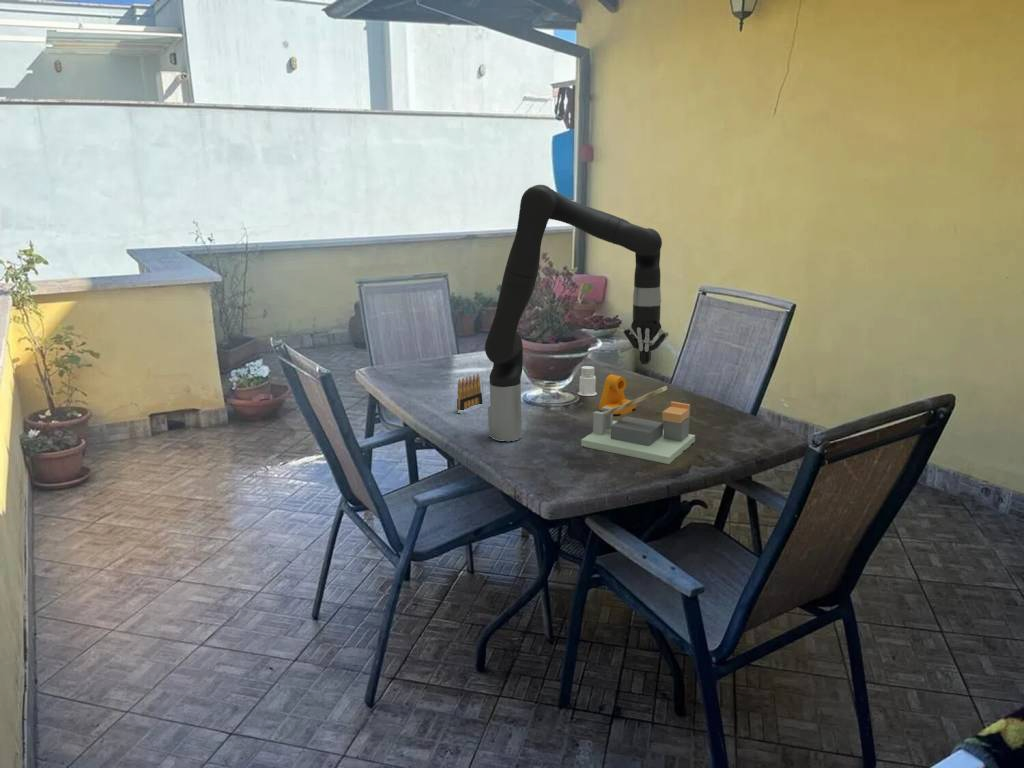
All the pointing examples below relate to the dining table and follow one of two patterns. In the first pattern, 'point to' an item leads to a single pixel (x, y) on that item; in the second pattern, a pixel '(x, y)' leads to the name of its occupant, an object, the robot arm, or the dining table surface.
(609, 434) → the board
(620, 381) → the bracket
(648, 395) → the strap
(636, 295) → the robot arm
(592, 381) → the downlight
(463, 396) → the ammunition clip
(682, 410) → the block
